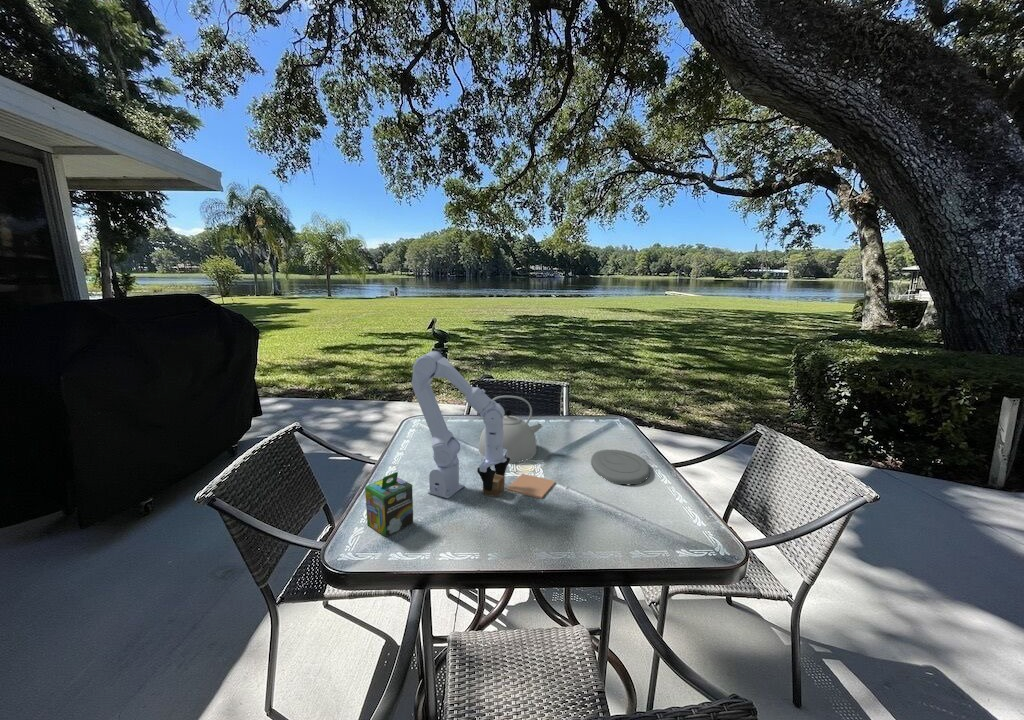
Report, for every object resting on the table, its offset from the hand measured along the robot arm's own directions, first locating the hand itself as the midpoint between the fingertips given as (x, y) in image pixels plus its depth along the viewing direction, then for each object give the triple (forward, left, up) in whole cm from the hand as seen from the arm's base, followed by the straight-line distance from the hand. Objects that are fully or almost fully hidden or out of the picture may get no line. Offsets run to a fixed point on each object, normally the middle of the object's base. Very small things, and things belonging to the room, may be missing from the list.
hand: (494, 484), depth 133 cm
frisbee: (+37, -32, -3) cm, 49 cm away
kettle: (+32, +10, -3) cm, 34 cm away
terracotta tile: (+9, -9, -2) cm, 13 cm away
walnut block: (0, 0, -3) cm, 3 cm away
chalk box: (-29, +16, -3) cm, 33 cm away
